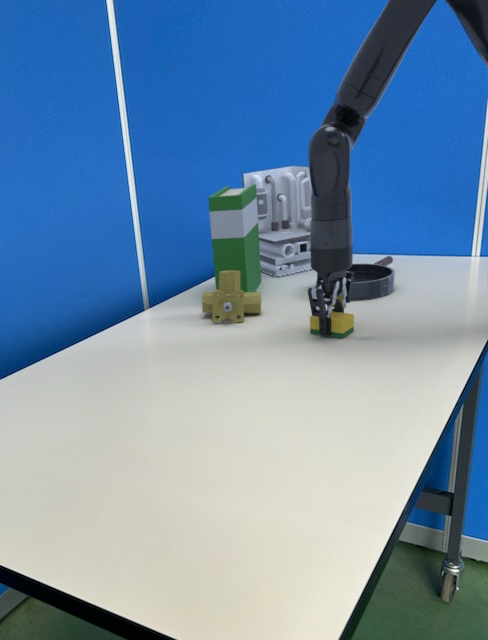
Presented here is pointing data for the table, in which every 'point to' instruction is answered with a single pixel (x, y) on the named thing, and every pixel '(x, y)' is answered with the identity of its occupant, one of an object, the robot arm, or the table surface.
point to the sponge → (335, 324)
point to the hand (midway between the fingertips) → (331, 330)
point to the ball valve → (230, 299)
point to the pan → (371, 281)
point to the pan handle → (385, 261)
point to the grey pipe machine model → (283, 218)
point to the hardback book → (236, 235)
